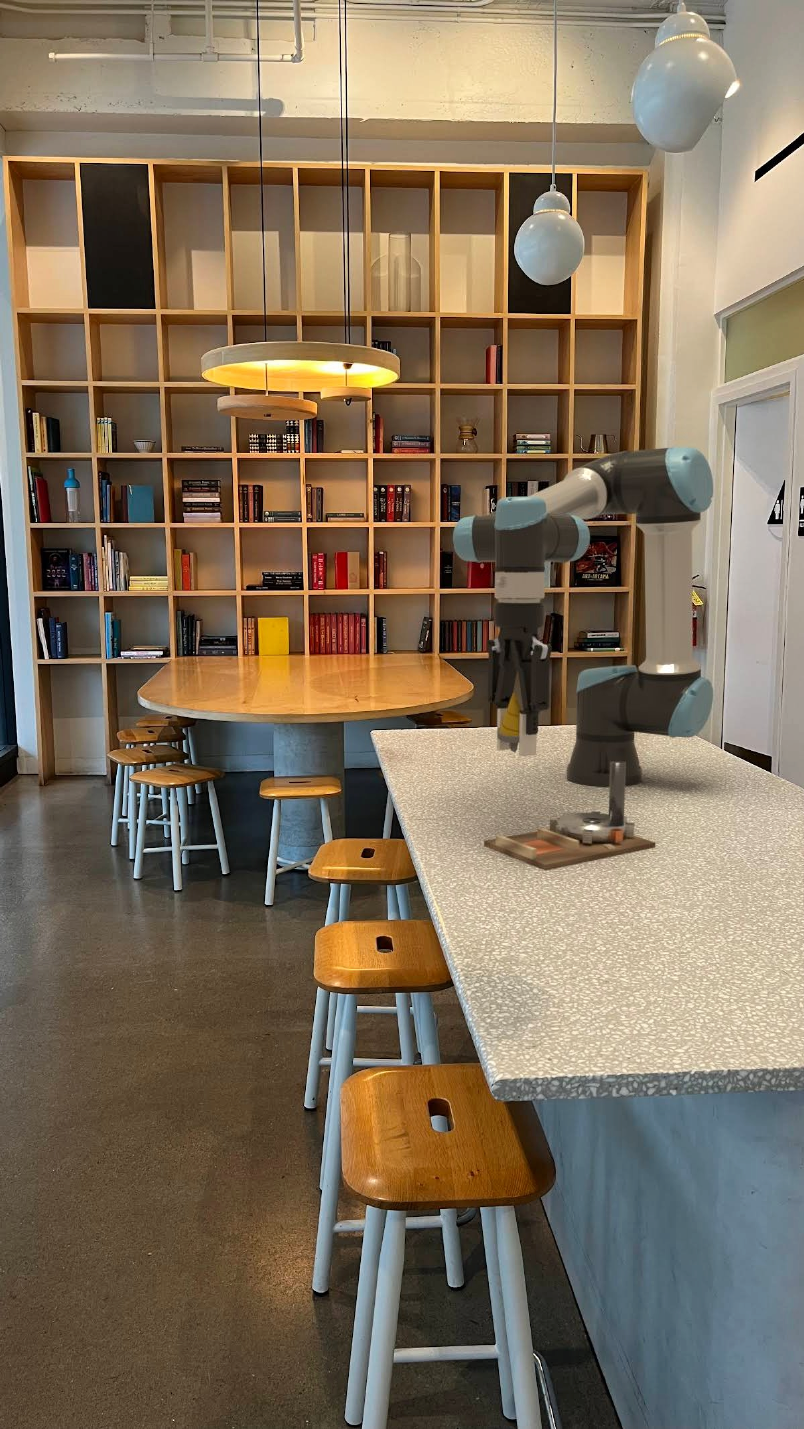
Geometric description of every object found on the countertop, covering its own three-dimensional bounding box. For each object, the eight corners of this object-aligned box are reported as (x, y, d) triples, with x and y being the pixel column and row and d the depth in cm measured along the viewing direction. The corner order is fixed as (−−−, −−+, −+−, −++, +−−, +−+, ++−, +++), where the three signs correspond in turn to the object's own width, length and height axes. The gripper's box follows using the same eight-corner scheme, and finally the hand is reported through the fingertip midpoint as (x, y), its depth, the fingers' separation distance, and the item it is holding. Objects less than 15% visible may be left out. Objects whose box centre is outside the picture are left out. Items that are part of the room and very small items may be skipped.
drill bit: (536, 747, 160) (535, 687, 156) (527, 761, 155) (526, 699, 152) (503, 744, 162) (501, 685, 158) (493, 758, 157) (491, 697, 153)
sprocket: (585, 847, 154) (587, 771, 152) (533, 828, 166) (534, 756, 164) (651, 836, 160) (654, 762, 159) (597, 818, 172) (599, 749, 170)
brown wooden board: (484, 846, 160) (484, 831, 160) (589, 827, 172) (590, 813, 171) (545, 871, 148) (545, 854, 147) (655, 848, 159) (655, 833, 159)
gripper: (465, 599, 160) (463, 745, 164) (535, 603, 145) (532, 764, 148) (504, 599, 164) (501, 741, 168) (577, 602, 149) (572, 759, 152)
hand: (516, 751), depth 158 cm, fingers closed on drill bit, 5 cm apart
